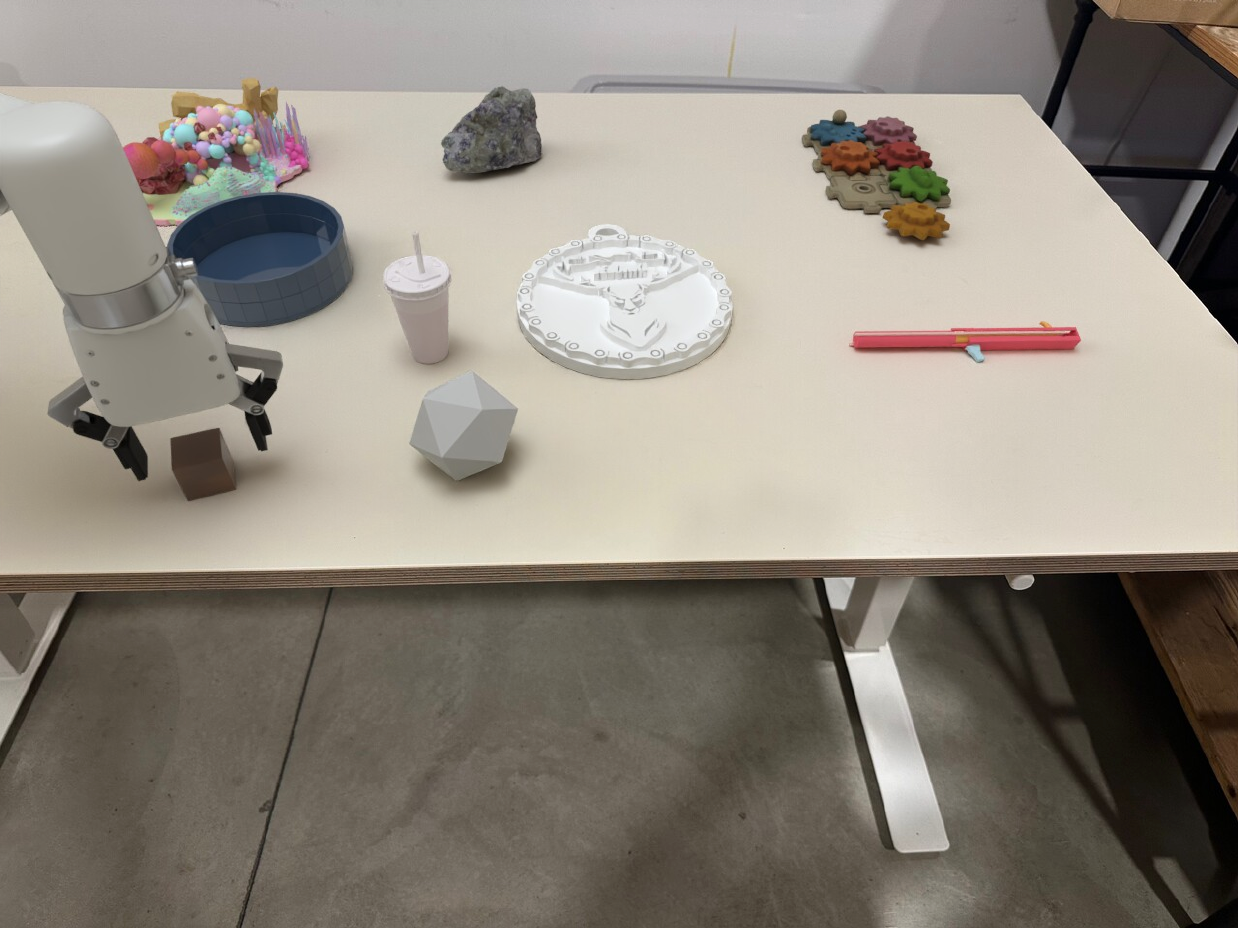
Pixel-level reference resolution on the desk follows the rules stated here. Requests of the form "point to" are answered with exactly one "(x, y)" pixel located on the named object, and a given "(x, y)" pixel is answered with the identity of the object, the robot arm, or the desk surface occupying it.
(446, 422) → the die
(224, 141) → the pastel sphere sculpture
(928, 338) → the red long bar
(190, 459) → the block
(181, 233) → the bowl
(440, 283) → the smoothie
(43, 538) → the desk surface
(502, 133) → the mineral rock
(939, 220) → the gear puzzle
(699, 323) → the medallion
